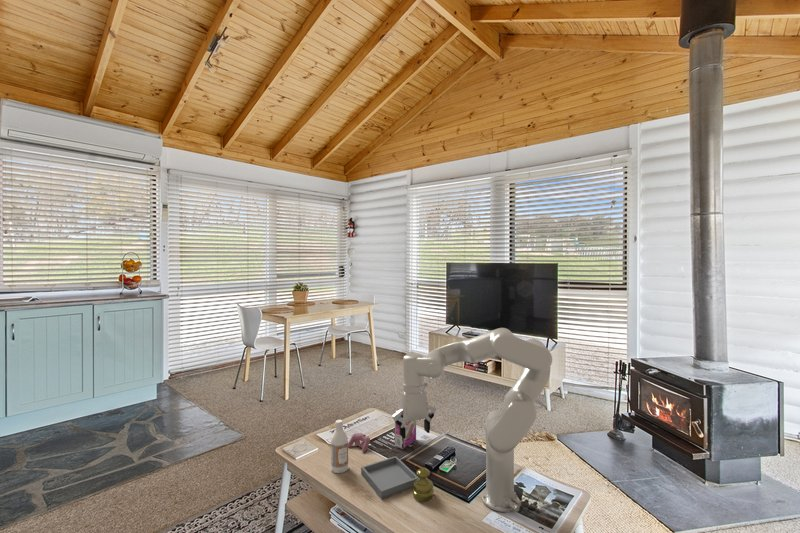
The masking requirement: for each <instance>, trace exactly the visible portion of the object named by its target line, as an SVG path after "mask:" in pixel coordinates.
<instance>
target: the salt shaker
mask: <svg viewBox="0 0 800 533" xmlns="http://www.w3.org/2000/svg"><path fill="white" fill-rule="evenodd" d="M416 475H417V476H418V477H419V478H418V479H417V480H416V481H415V482H414V483H413V488H412V489H413V490H412V491H413V498H414V499H415V500H416V501H417V502H421V503H427V502H430V501H431V500H433V498H434V487H435V486H434V483H433V481H432V480H431V479H429V478H428V477H429V476H431V471H430V470H429V469H428V468H426V467H420V468H418V469H417V470H416Z"/></svg>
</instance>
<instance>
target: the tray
mask: <svg viewBox="0 0 800 533" xmlns="http://www.w3.org/2000/svg"><path fill="white" fill-rule="evenodd" d="M360 474H361V477H363V479H364V480H365V481H366V483H368V485H369V486H370V487H371V488H372V490H373V491H374V492H375V493H376V494H377V496H378V497H379V498H380V500H384V499H387V498H390V497H392V496H394V495H397V494H401V493H402V492H406V491H408V490H410V489H414V488H413V483H414V482H415V481H416V480H417V479H418V478H420V477H419V476H418V475H417V474H415V472H414V471H413V470H412V469H410V468H409V467H408V466H407V465H406V464H405V463H404V461H402V460H401V459H400V458H398V456H396V455H395V456H391V457H389V458H385V459H381V460H379V461H376V462H373V463H369V464H366V465H363V466H361V467H360Z"/></svg>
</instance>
